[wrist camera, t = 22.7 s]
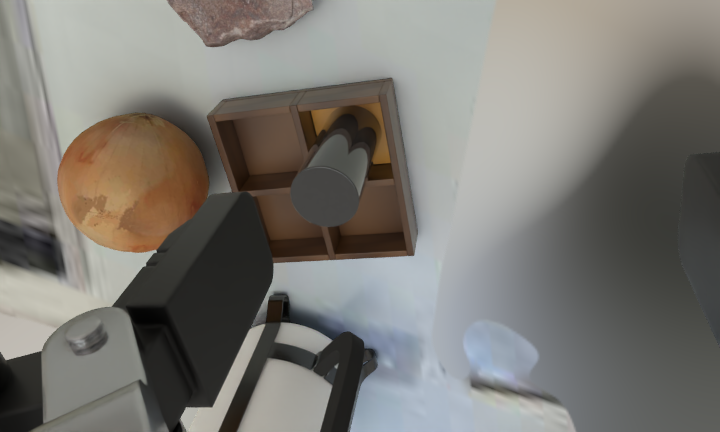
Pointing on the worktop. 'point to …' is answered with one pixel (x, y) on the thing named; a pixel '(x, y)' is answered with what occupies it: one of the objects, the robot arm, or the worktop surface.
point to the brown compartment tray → (287, 153)
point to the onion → (132, 181)
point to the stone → (238, 17)
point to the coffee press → (289, 380)
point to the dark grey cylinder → (337, 167)
